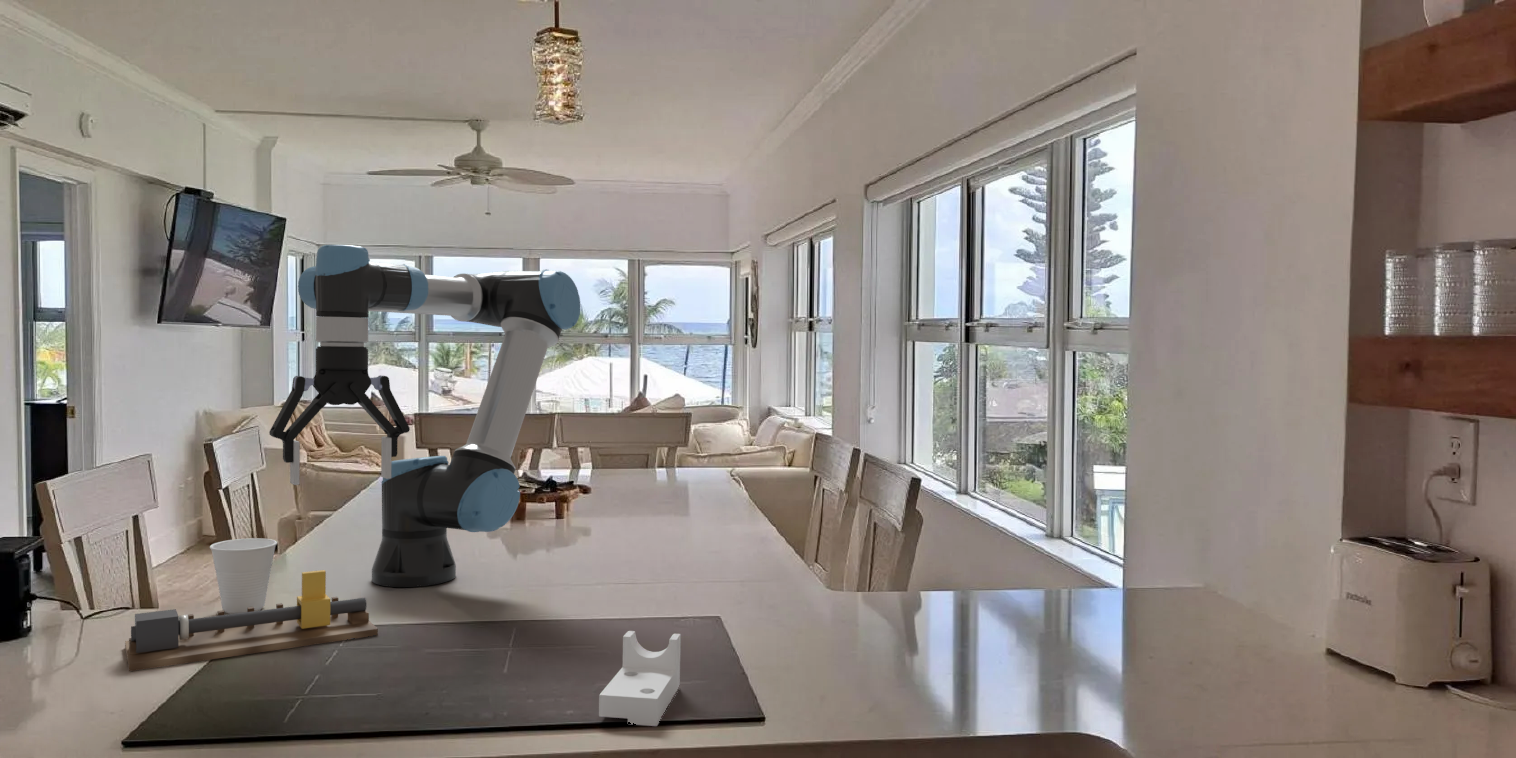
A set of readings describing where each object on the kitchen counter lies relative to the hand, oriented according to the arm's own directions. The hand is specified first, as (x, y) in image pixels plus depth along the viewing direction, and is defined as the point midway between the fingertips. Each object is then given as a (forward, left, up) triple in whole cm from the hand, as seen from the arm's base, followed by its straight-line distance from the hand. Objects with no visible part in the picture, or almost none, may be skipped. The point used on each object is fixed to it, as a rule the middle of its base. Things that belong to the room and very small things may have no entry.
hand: (341, 480), depth 152 cm
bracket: (-24, +55, -24) cm, 64 cm away
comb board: (+12, +2, -23) cm, 26 cm away
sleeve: (+4, +2, -22) cm, 22 cm away
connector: (+24, +2, -22) cm, 33 cm away
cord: (+12, +2, -21) cm, 24 cm away
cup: (+11, -18, -23) cm, 32 cm away
